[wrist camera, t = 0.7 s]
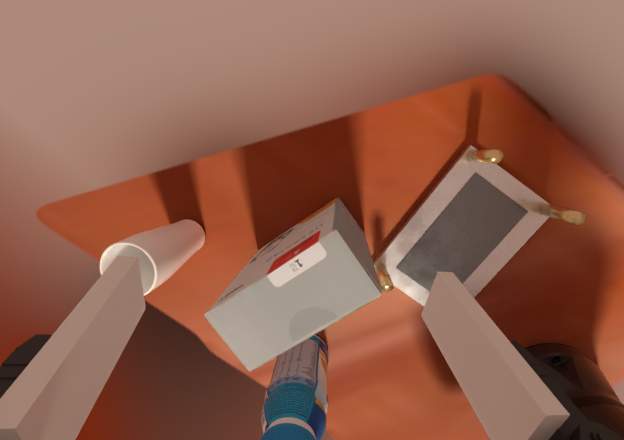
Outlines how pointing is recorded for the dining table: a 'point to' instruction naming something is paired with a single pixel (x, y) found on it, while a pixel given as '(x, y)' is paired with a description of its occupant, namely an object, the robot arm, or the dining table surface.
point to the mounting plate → (465, 227)
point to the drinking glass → (158, 251)
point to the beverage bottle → (297, 394)
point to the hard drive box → (297, 286)
